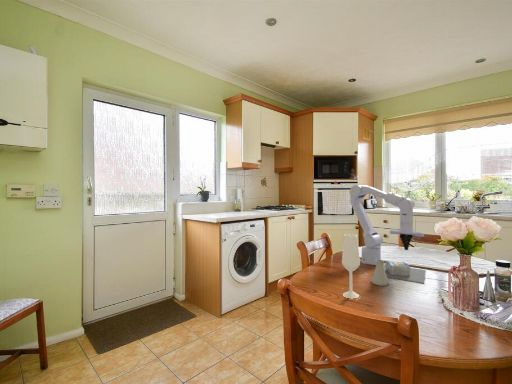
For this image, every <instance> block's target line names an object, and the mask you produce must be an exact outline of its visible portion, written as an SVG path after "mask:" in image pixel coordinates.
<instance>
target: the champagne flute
mask: <svg viewBox="0 0 512 384" xmlns="http://www.w3.org/2000/svg"><path fill="white" fill-rule="evenodd" d="M358 239H359V238H358V234H354V233H344V235H343V244H342V245H343V246H342V255H341V256H342V257H341V264H342V266H343V268H345V269H346V270H347V271H348V272H349V273H348V276H349V279H348V280H349V286H348V287H349V289H348V291H346V292H343V293H342V294H343V296H344V297H346V298H345V299H347V298H351V299H353V298H358V297H359V296H360V294H358V293H357V292H355V291H354V290H353V287H354V286H353V283H354V282H353V281H354V280H353V272H354V271H356V270H357V269H359V267H360V265H361V259H360V251H359V250H360V249H359V240H358ZM343 296H342V297H343ZM344 297H343V298H344ZM351 299H350V300H351Z"/></svg>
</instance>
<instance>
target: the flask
mask: <svg viewBox="0 0 512 384" xmlns="http://www.w3.org/2000/svg"><path fill="white" fill-rule="evenodd" d="M375 261H376V265H375V269H374V272H373V274H372V277H371V279H370V282H371V284H373V285H376V286H381V287H383V286H384V287H385V286H388V285H390V282H389V281H390V280H389V278H387V276H386V273H385V271H384V262H385V260H382V259H381V260H375Z"/></svg>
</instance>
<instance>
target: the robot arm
mask: <svg viewBox="0 0 512 384" xmlns="http://www.w3.org/2000/svg"><path fill="white" fill-rule="evenodd" d="M348 193H349V197H350V198H349V199H350V200H349V201H350V204H351V207H352V209H353V212H354V214H355V216H356V217H357V219H358V222H359V224H360V226H361V228H362V231H363V233H362V236H363V242H364V245H363V246H362V248H361V261H360V264H366V265H371V266H372V265H373V266H376V261H375V260H382V258H381V257H382V255H381V252H382V248H381V244H382V243H383V241H384V240H383V237H382V235H381V234H379V232H378V231H377V229H375V228H374V226H373V225H372V222H371V220H370V218H369V216H368V214H367V211H366V209H365V208H364V205H363V204H362V201H363V199H364V198H365V197H366V196H367V195H372V196H375V197H377V198H380V199H383V200H384V202H385V203H386V204H390V205H392V206H395V207H396V208H398V209H399V229H390V230H389V235H398V236H399V238H400V240H401V241H402V244H403V248H404V251H409V248H410V247H409V246H410V243H411V241H412V239H413V236H415V237H421V238H422V237H425V232H423V231H415V230H414V207H415V205H416V204H415V201H414V200H413V199H412V198H410V197H406V196H405V195H399V194H397V193H396V192H395V191H392V192H391V191H390V192H384V191H382V190H380V189H377V188H376V187H373V186H370V185H367V184H353V185H352V186H351V187H350V190H349V191H348Z"/></svg>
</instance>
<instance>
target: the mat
mask: <svg viewBox="0 0 512 384" xmlns="http://www.w3.org/2000/svg"><path fill="white" fill-rule="evenodd" d="M383 267H384V271H385V273H386V276H387V278H388V279H394V280H399V281H405V282H410V283H411V282H412V283H418V284H423V285H424V284H425V278H426V272H427V271H426V269H421V268H414V267H410V276H404V275H391V274H390V273H389V272H388V271H387V270H386V263H385V264H384V265H383Z"/></svg>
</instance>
